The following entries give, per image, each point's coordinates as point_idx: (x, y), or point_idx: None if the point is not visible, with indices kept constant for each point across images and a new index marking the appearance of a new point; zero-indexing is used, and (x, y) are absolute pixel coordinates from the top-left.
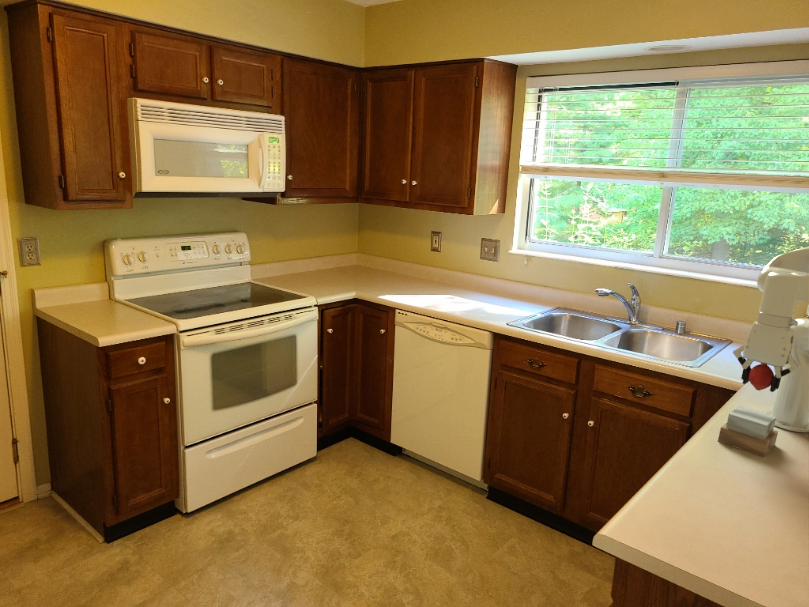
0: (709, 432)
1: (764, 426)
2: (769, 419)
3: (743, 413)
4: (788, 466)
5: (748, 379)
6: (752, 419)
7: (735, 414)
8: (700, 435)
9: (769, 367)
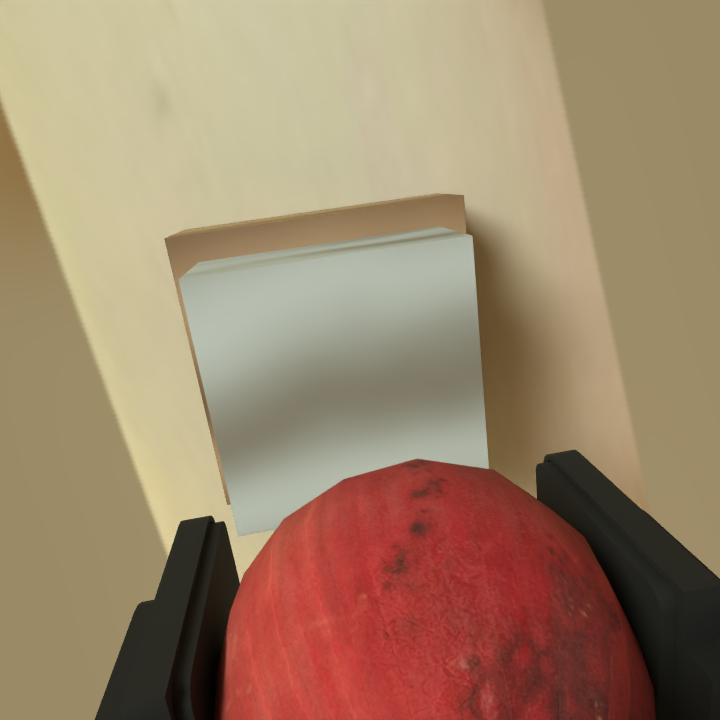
0: (141, 393)
1: None
2: (458, 347)
3: (290, 425)
4: (568, 407)
5: (228, 587)
6: None
7: (269, 503)
8: (145, 480)
9: None
